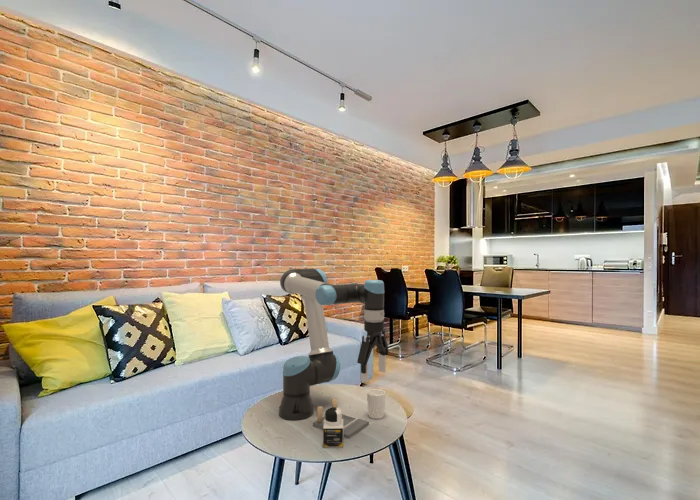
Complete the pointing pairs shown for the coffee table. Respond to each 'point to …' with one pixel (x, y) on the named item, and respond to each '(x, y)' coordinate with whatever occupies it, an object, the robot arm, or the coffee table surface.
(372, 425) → the coffee table surface
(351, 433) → the peg board
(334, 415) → the medicine bottle
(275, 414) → the coffee table surface
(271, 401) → the coffee table surface
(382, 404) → the white cup
